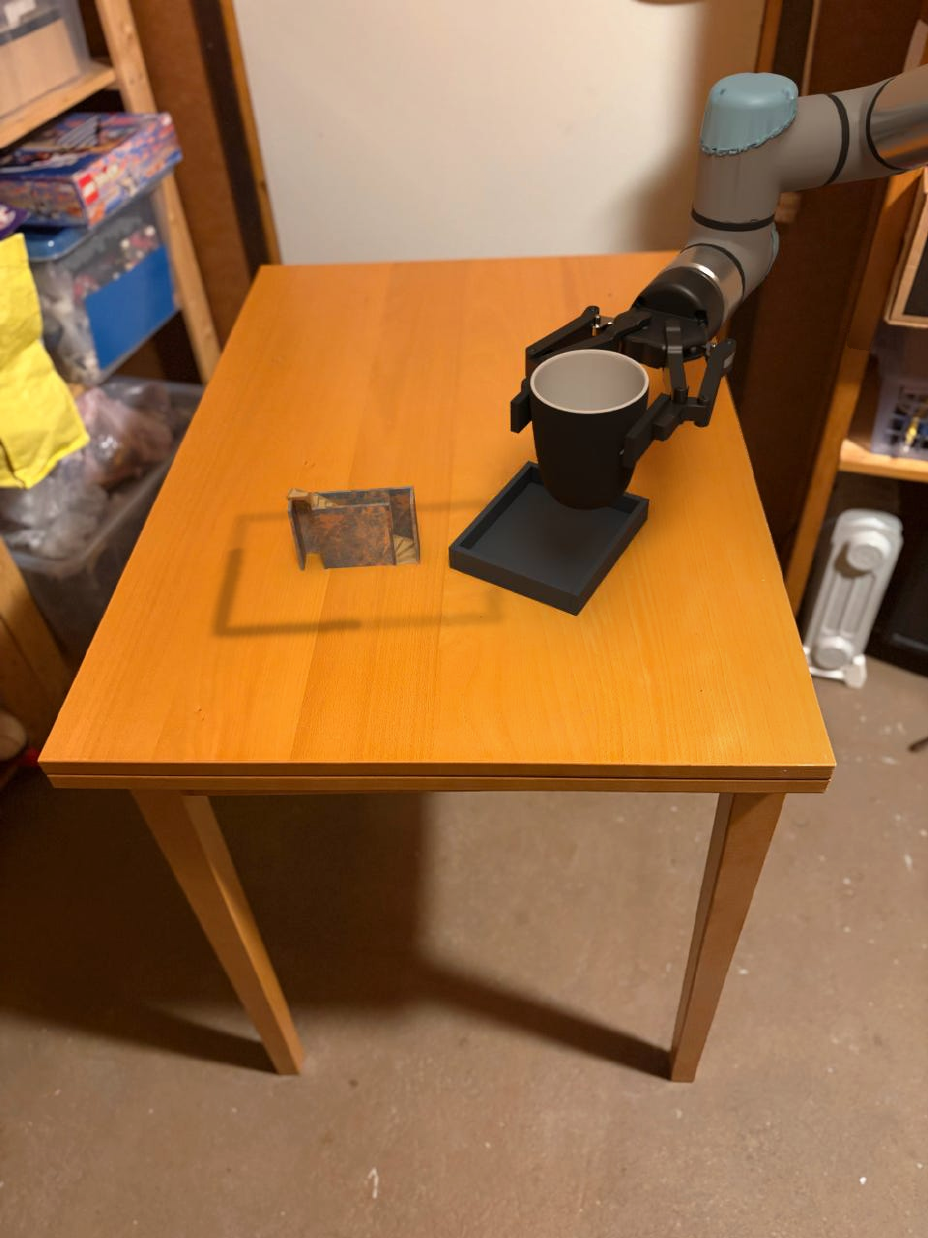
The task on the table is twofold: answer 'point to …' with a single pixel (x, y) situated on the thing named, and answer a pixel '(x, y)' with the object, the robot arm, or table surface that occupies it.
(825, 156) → the robot arm
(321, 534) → the architectural model on board
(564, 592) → the tray
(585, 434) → the mug
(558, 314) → the table surface
